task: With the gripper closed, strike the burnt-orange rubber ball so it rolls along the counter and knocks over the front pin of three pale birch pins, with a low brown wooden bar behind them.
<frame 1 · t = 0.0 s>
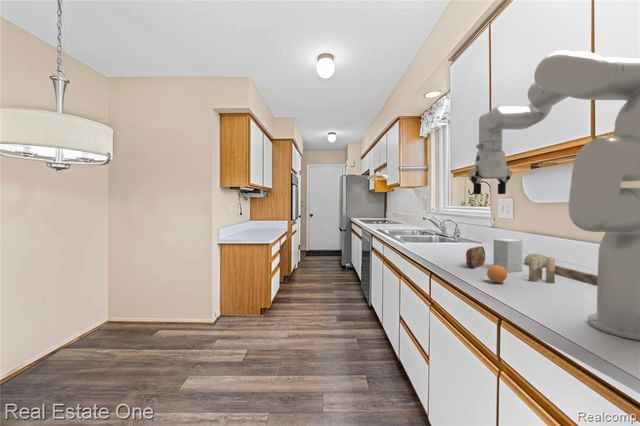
hand: (489, 194, 109), 31 cm above the worktop, tool pointing down, fingers open, 9 cm apart
ball: (496, 274, 103), on the worktop
front pin: (533, 280, 104), on the worktop
back left pin: (538, 278, 107), on the worktop
sea urchin shell: (536, 265, 129), on the worktop
tin: (475, 266, 128), on the worktop
back right pin: (550, 282, 102), on the worktop
supplement box: (507, 270, 121), on the worktop
brown wooden bar: (574, 278, 106), on the worktop
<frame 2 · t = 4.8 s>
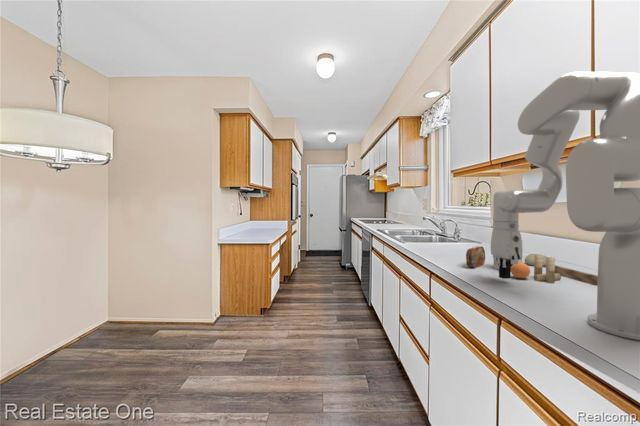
hand: (504, 277, 103), 2 cm above the worktop, tool pointing down, fingers closed
ball: (520, 270, 108), on the worktop
front pin: (536, 277, 104), point 1 cm above the worktop, tilted 90°
everything else where it was.
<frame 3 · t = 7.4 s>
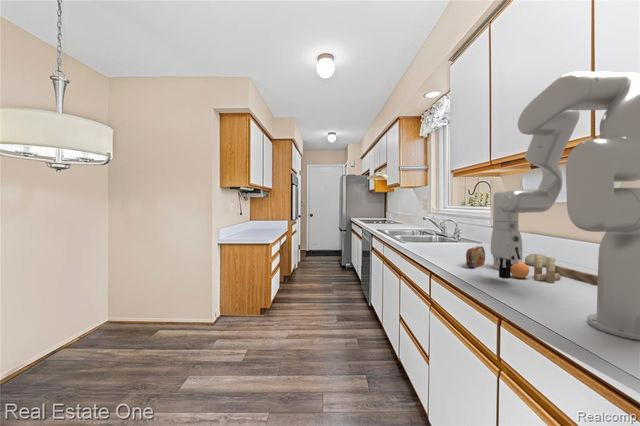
hand: (504, 277, 103), 2 cm above the worktop, tool pointing down, fingers closed
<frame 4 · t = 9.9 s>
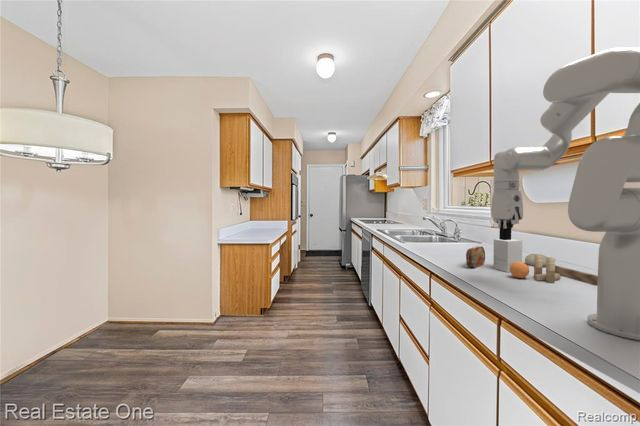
hand: (505, 239, 103), 15 cm above the worktop, tool pointing down, fingers closed
nothing on the worktop moved.
at the end: front pin tilted 90°; front pin never touched the robot; ball moved 13.0 cm from its start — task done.
